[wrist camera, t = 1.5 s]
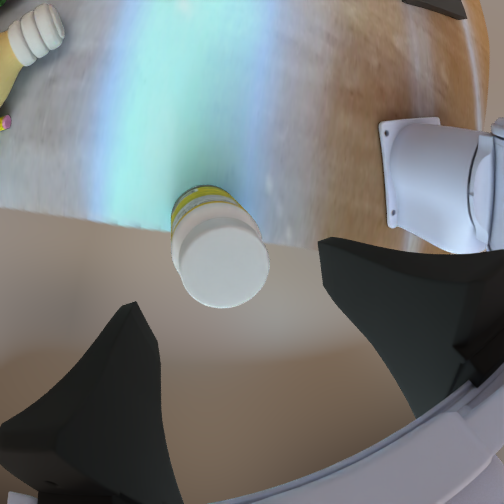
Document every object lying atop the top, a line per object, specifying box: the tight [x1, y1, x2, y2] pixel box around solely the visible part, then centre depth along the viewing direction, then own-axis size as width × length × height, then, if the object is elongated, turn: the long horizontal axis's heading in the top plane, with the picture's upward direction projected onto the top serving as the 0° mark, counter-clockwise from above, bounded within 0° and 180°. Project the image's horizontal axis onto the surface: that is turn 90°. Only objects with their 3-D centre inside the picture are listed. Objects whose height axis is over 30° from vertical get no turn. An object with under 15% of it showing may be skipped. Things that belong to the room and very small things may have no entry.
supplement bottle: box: [171, 185, 270, 308], centre depth 16 cm, size 5×5×8 cm
